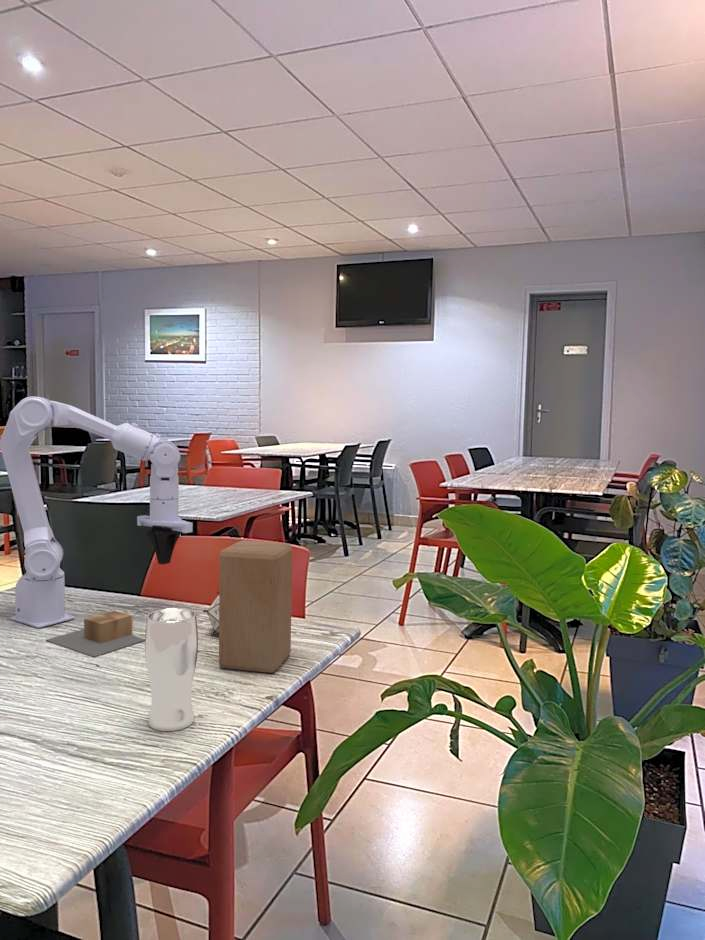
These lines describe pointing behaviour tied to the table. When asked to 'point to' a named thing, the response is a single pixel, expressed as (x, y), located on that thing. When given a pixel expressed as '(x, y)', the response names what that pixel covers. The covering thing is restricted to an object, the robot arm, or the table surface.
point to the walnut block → (108, 626)
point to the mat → (93, 643)
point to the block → (255, 605)
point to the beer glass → (171, 666)
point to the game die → (214, 614)
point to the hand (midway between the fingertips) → (164, 563)
